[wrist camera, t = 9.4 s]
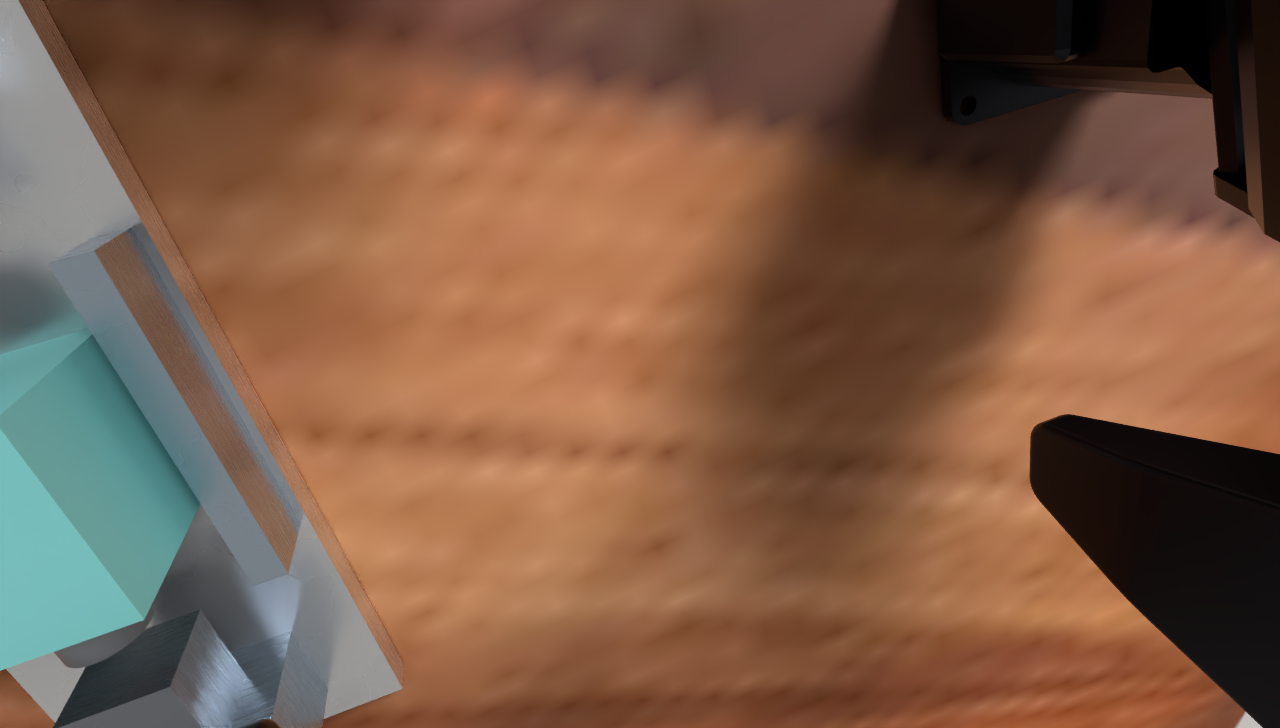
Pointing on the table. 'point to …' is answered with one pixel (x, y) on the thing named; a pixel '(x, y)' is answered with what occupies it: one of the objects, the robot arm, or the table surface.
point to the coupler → (80, 506)
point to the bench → (170, 435)
